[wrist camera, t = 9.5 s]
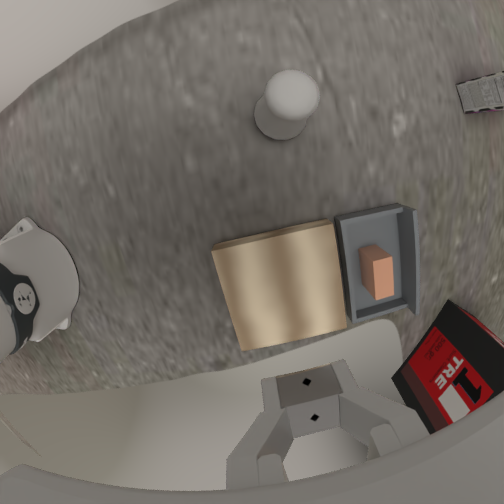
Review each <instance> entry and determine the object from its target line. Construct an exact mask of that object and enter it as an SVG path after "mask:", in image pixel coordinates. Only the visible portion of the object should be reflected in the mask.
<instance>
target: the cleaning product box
mask: <svg viewBox="0 0 504 504" xmlns="http://www.w3.org/2000/svg"><path fill="white" fill-rule="evenodd" d="M391 379H392V380H393V382H394V384H395V386H396V388H397V389H398V391H399V393H400V395H401V396H402V398H403V400H404V402H405V404H406V406H407V407H409V408H411V409H413V410H415V411H416V412H417V414H418V416H419V417H420V419H421V421H422V422H423V424H424V426H425V427H426V429H427V430H428V432H429V434H430V435H431V434H433V433H435V432H437V431H439V430H441V429H443V428H445V427H447V426H448V425H450V424H452V423H454V422H456V421H457V420H459V419H461V418H463V417H464V416H466V415H468V414H469V413H471V412H473V411H474V410H476V409H477V408H479V407H481V406H482V405H484V404H485V403H487V402H488V401H490V400H491V399H493V398H494V397H496V396H497V395H498V394H500V393H501V392H503V391H504V342H503V341H501V340H500V339H499V338H498V337H497V336H496V335H495V334H494V333H493V332H491V331H490V330H489V329H488V328H487V327H486V326H485V325H483V324H482V323H481V322H480V321H479V320H478V319H476V318H475V317H474V316H473V315H471V314H470V313H468V312H467V311H465V310H464V309H462V308H461V307H459V306H458V305H456V304H454V303H453V302H451V301H450V300H447V302H446V303H445V305H444V307H443V308H442V310H441V311H440V313H439V314H438V316H437V317H436V319H435V320H434V322H433V323H432V325H431V326H430V328H429V329H428V331H427V332H426V334H425V335H424V336H423V338H422V339H421V341H420V342H419V343H418V345H417V346H416V347H415V349H414V350H413V351H412V353H411V354H410V355H409V357H408V358H407V359H406V360H405V362H404V363H403V364H402V365H401V367H400V368H399V369H398V371H397V372H396V373H395V374H394V375H393V377H392V378H391Z"/></svg>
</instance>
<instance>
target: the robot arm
mask: <svg viewBox="0 0 504 504" xmlns="http://www.w3.org/2000/svg"><path fill="white" fill-rule="evenodd" d="M22 228H23V229H22ZM78 295H79V281H78V275H77V271H76V268H75V265H74V263H73V260H72V258H71V256H70V254H69V253H68V251H67V250H66V248H65V247H64V245H63V244H62V243H61V242H60V241H59V240H58V239H57V238H56V237H55V236H53V235H52V234H50V233H49V232H46V231H44V230H42V229H40V228H39V227H38V226H37V225H36V224H35V223H34V222H33V220H32V219H30V218H29V217H25V218H23V219H21V220H20V221H19V222H18V223H17V224H16V225H15V226H14V227H13V228H12V229H11V230H10V231H9V232H8V233H7V234H6V235H5V236H4V237H3V238H2V239H1V240H0V363H1V362H2V361H3V360H4V359H5V358H6V357H7V356H8V355H10V354H14V353H15V352H16V351H17V350H20V349H21V348H22V347H23V346H24V345H25V343H26V342H27V341H28V340H30V341H36V342H39V341H41V340H42V339H43V338H45V337H46V336H47V335H48V334H49V333H50V332H52V331H53V330H54V329H55V328H56V329H67V328H68V327H69V326H70V324H71V313H72V310H73V308H74V307H75V305H76V303H77V300H78ZM261 385H262V393H263V403H264V412H262V413H260V414H259V415H258V417H257V418H256V420H255V421H254V423H253V424H252V425H251V427H250V428H249V430H248V431H247V432H246V434H245V435H244V437H243V438H242V439H241V441H240V442H239V443H238V445H237V446H236V447H235V449H234V450H233V452H232V453H231V454H230V455H229V457H228V458H227V470H226V490H213V491H164V490H163V491H162V490H147V489H135V488H127V487H119V486H112V485H105V484H99V483H94V482H89V481H84V480H79V479H74V478H70V477H66V476H62V475H58V474H54V473H51V472H47V471H44V470H41V469H38V468H35V467H32V466H28V465H25V464H21V465H18V466H16V467H14V468H12V469H10V470H8V471H7V472H5V473H4V474H2V475H0V504H504V391H503V392H501V393H500V394H498V395H497V396H496V397H494V398H493V399H491V400H490V401H488V402H487V403H485V404H484V405H482V406H481V407H479V408H477V409H476V410H474V411H473V412H471V413H469V414H468V415H466V416H464V417H463V418H461V419H459V420H457V421H456V422H454V423H452V424H450V425H448V426H447V427H445V428H443V429H441V430H439V431H437V432H435V433H433V434H431V435H430V434H429V432H428V430H427V429H426V427H425V426H424V424H423V422H422V421H421V419H420V417H419V416H418V414H417V412H416V411H415V410H413V409H411V408H409V407H406V406H404V405H402V404H399V403H397V402H395V401H393V400H390V399H388V398H386V397H384V396H382V395H379V394H377V393H375V392H373V391H370V390H369V389H366V388H364V387H361V388H359V387H358V385H357V383H356V381H355V379H354V377H353V375H352V373H351V371H350V369H349V367H348V365H347V363H346V361H345V360H344V359H342V360H339V361H335V362H332V363H330V364H326V365H322V366H319V367H314V368H311V369H307V370H303V371H299V372H294V373H289V374H284V375H280V376H276V377H271V378H266V379H262V380H261ZM336 427H341V428H342V429H344V430H345V431H346V432H347V433H349V434H350V435H352V436H353V437H355V438H356V439H357V440H359V441H360V442H362V443H363V444H364V445H366V446H368V454H367V460H366V462H363V463H360V464H357V465H354V466H351V467H347V468H344V469H340V470H337V471H334V472H330V473H326V474H322V475H318V476H314V477H309V478H305V479H300V480H295V481H290V482H289V480H288V477H287V474H286V472H285V469H284V466H283V461H284V459H285V456H286V454H287V452H288V450H289V448H290V446H291V444H292V442H293V440H294V439H293V438H297V437H301V436H305V435H308V434H312V433H316V432H320V431H324V430H328V429H332V428H336Z"/></svg>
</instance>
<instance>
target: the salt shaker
mask: <svg viewBox="0 0 504 504" xmlns="http://www.w3.org/2000/svg"><path fill="white" fill-rule="evenodd" d="M319 99H320V92H319V89H318V85H317V83H316V82H315V81H314V80H313V79H312V78H311V76H310V75H308V74H306V73H304V72H302V71H300V70H284V71H281V72H279V73H276V74H275V75H274V76H273V77H272V78H271V79H270V80H269V81H268V83H267V84H266V88H265V92H264V95H263V96H262V97H261V98H260V99H259V101H258V102H257V103H256V107H255V111H254V117H255V121H256V125H257V126H258V128H259V129H260V130H261V131H262V132H263V133H264V135H267V136H269V137H271V138H273V139H275V140H288V139H290V138H293V137H295V136H297V135H299V133H300V132H301V131H302V130H303V129H304V128H305V126H306V122H307V118H308V117H310V116H311V115H312V114H313V113H314V111H315V110H316V109H317V108H318V104H319Z"/></svg>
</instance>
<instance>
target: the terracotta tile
mask: <svg viewBox="0 0 504 504" xmlns="http://www.w3.org/2000/svg"><path fill="white" fill-rule="evenodd" d="M358 252H359V260H360V269H361V279H362V285H363V286H364V287H365V288H366V289H367V291H368V292H369V293H370V294H371V295H372V297H373V298H374V299H375V300H379V299H382V298H386V297H389V296H392V295H394V280H393V261H392V256H391V255H390V254H388V253H387V252H386V251H384V250H383V249H381V248H380V247H379V246H377V245H376V244H375V245H371V246H367V247H363V248H359V249H358Z"/></svg>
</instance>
